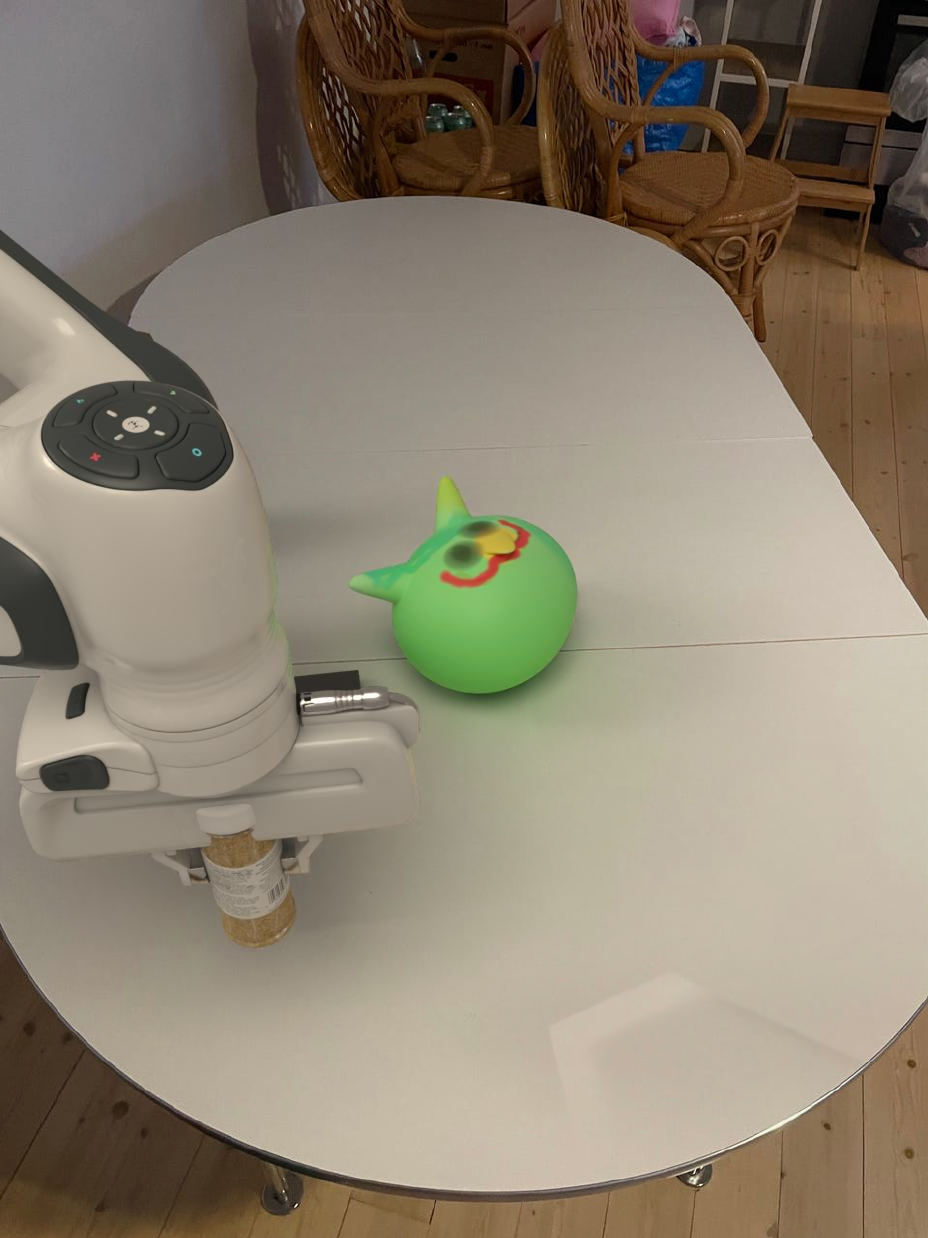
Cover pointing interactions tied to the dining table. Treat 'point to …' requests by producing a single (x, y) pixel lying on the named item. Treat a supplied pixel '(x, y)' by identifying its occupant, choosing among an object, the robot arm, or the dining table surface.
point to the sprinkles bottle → (246, 877)
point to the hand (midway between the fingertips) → (247, 869)
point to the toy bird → (478, 598)
